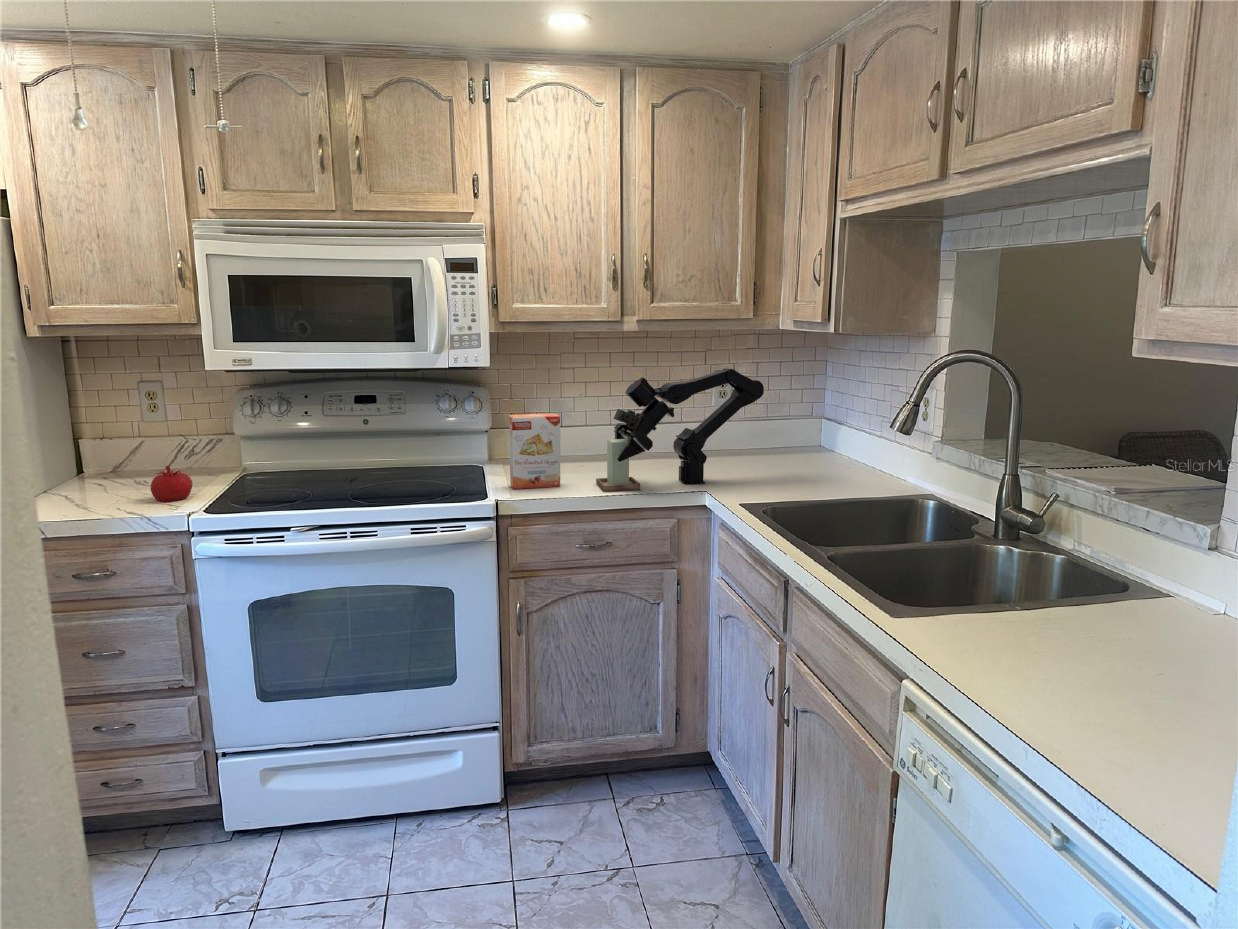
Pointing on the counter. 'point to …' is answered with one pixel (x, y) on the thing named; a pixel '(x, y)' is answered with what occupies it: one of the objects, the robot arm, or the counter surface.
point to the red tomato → (171, 486)
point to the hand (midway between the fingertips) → (613, 457)
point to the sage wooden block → (617, 463)
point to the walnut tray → (605, 487)
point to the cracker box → (534, 450)
